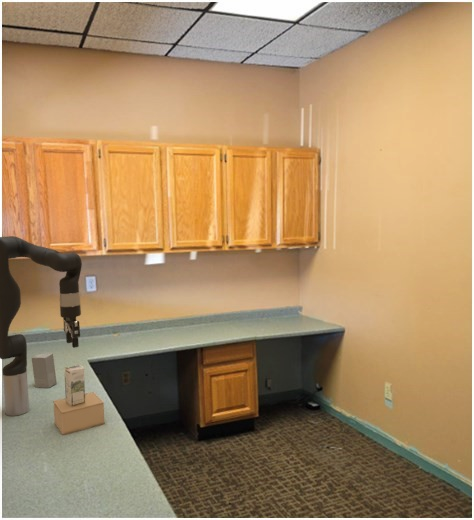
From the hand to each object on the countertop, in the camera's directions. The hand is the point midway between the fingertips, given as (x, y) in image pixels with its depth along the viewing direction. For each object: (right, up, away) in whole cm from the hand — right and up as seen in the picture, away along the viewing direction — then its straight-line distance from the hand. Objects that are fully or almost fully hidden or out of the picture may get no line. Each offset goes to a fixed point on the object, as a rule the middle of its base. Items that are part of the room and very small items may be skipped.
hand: (72, 345), depth 180 cm
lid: (+2, -24, +2) cm, 24 cm away
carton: (+2, -32, +3) cm, 32 cm away
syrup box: (+1, -23, +2) cm, 23 cm away
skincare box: (-31, -30, +48) cm, 65 cm away
